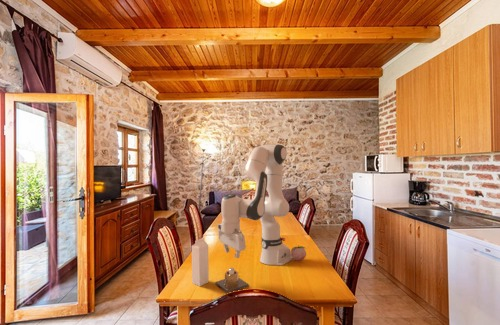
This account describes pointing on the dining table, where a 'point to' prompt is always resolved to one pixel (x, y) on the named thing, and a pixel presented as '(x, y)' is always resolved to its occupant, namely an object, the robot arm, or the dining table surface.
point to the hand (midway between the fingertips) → (232, 254)
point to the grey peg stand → (228, 289)
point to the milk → (200, 263)
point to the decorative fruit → (298, 253)
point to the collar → (231, 278)
